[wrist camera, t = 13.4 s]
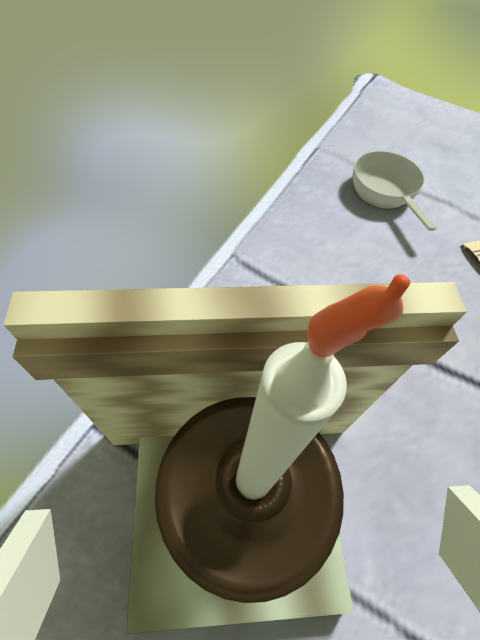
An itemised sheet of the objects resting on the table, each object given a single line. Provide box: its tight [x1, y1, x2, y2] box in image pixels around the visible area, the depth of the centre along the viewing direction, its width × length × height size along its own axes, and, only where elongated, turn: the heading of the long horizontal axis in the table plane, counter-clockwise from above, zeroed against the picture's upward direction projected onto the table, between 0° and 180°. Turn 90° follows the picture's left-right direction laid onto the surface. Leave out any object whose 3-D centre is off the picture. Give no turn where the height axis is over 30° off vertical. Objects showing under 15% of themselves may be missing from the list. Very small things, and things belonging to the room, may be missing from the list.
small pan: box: [353, 151, 437, 231], centre depth 59 cm, size 11×18×4 cm, turn 17°
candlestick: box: [155, 275, 410, 603], centre depth 20 cm, size 11×11×35 cm
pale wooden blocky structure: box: [4, 282, 467, 634], centre depth 27 cm, size 24×17×24 cm
